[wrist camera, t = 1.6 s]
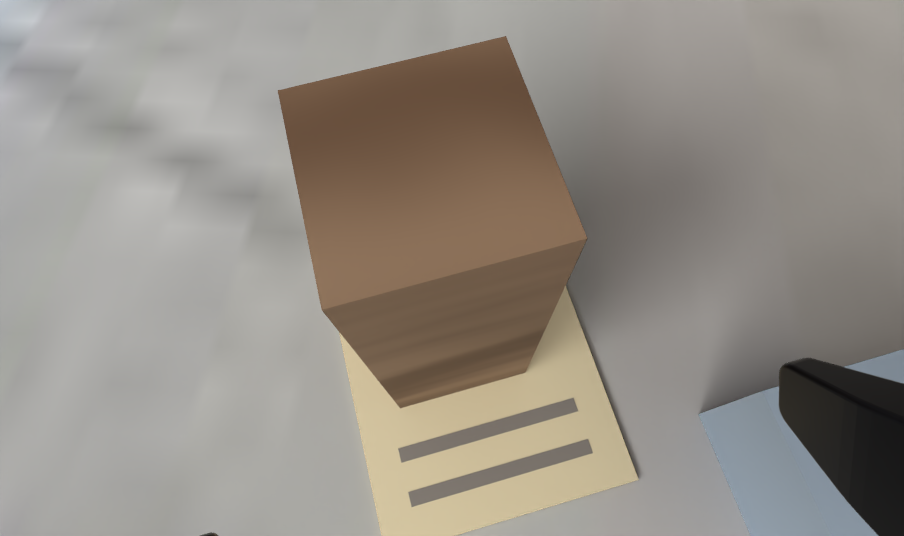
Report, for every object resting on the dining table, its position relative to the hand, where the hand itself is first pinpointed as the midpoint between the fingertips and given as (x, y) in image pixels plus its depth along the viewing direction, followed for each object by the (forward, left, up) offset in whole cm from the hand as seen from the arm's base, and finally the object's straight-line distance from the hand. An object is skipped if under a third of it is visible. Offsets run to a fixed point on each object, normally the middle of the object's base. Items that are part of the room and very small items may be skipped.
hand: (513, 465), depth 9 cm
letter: (+5, -1, -12) cm, 13 cm away
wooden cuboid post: (+6, 0, -12) cm, 13 cm away
